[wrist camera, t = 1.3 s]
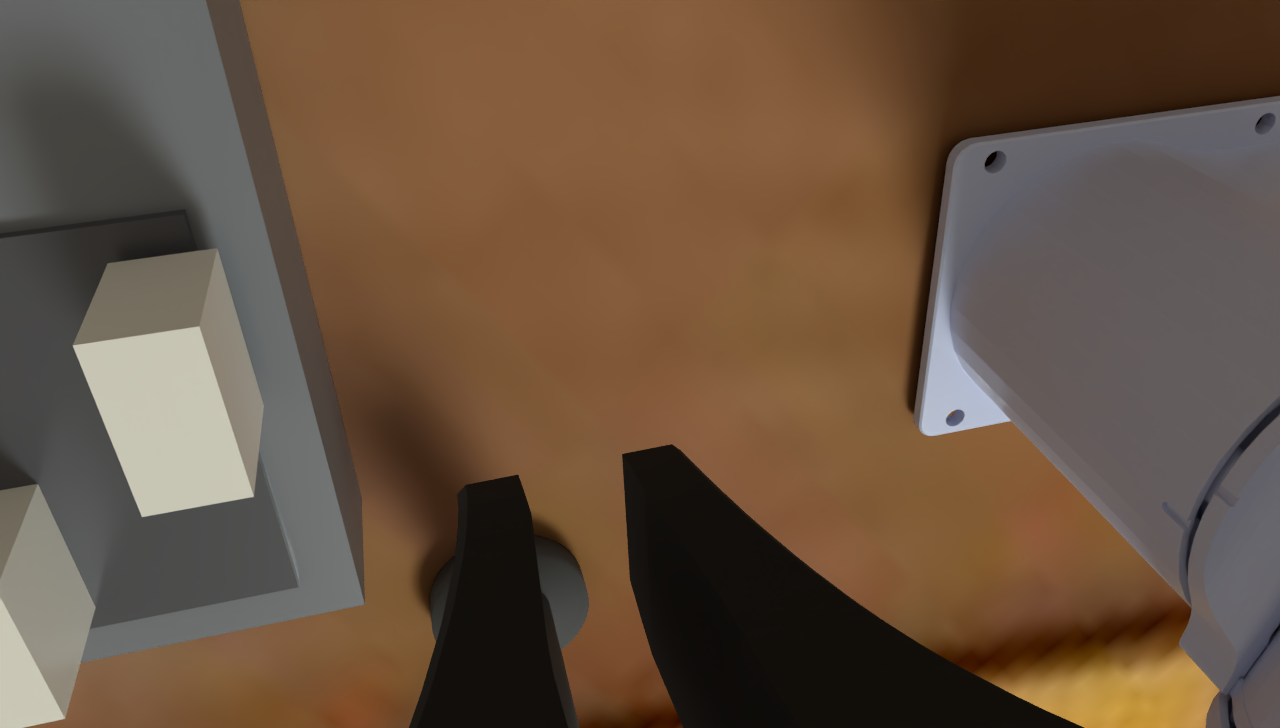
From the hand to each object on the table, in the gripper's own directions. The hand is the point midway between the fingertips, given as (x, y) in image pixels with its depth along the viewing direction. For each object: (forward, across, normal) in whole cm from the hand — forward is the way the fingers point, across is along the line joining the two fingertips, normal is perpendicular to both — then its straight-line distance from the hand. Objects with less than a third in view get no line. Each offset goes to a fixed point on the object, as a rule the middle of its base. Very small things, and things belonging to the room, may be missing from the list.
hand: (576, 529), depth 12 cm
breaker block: (+10, +7, 0) cm, 13 cm away
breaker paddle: (+7, +5, 0) cm, 8 cm away
